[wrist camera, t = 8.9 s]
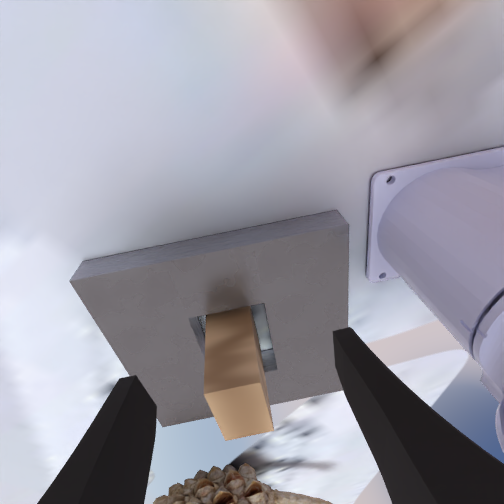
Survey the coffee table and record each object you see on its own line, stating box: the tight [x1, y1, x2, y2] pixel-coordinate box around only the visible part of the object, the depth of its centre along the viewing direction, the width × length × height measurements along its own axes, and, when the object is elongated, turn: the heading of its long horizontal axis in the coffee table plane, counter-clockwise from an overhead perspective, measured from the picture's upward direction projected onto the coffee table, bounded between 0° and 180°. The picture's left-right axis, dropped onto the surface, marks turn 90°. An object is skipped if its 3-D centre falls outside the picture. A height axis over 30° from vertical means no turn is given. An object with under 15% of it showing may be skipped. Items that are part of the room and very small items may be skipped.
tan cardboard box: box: [204, 306, 274, 441], centre depth 20 cm, size 3×5×7 cm, turn 10°
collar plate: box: [70, 210, 349, 427], centre depth 22 cm, size 16×16×2 cm
